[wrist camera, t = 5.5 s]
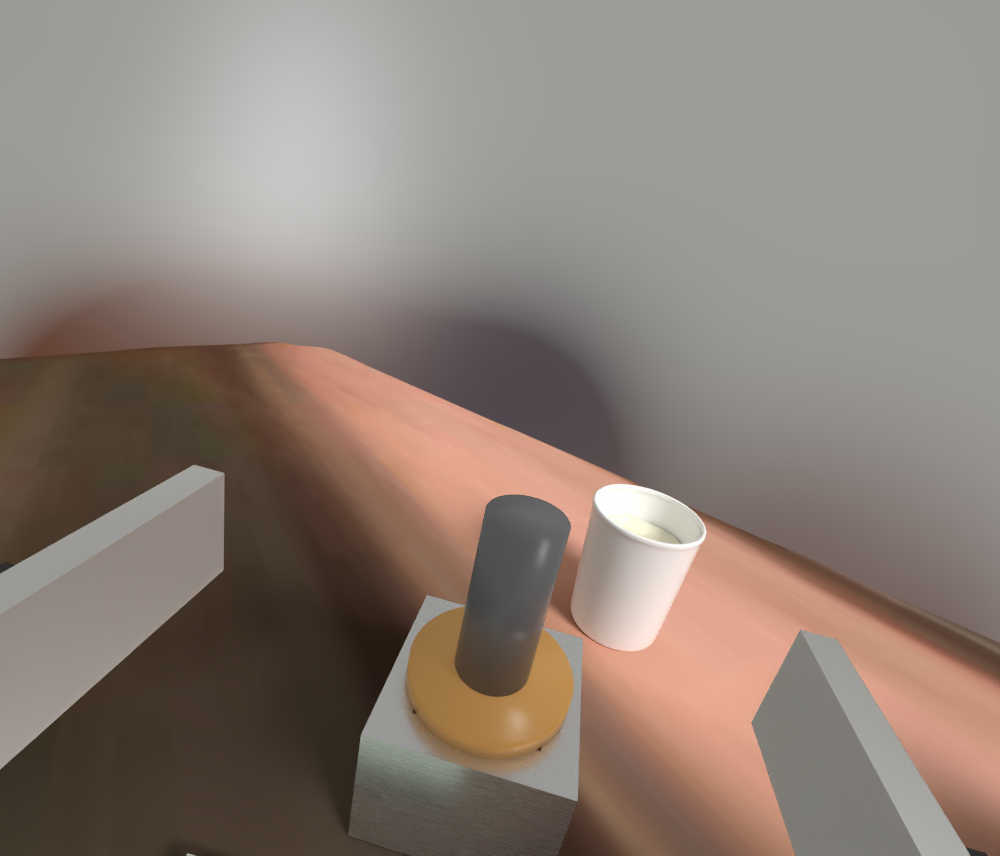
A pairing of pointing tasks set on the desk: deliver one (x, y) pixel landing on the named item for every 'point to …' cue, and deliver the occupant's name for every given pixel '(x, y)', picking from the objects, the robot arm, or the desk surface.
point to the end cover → (498, 641)
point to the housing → (461, 777)
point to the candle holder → (632, 564)
